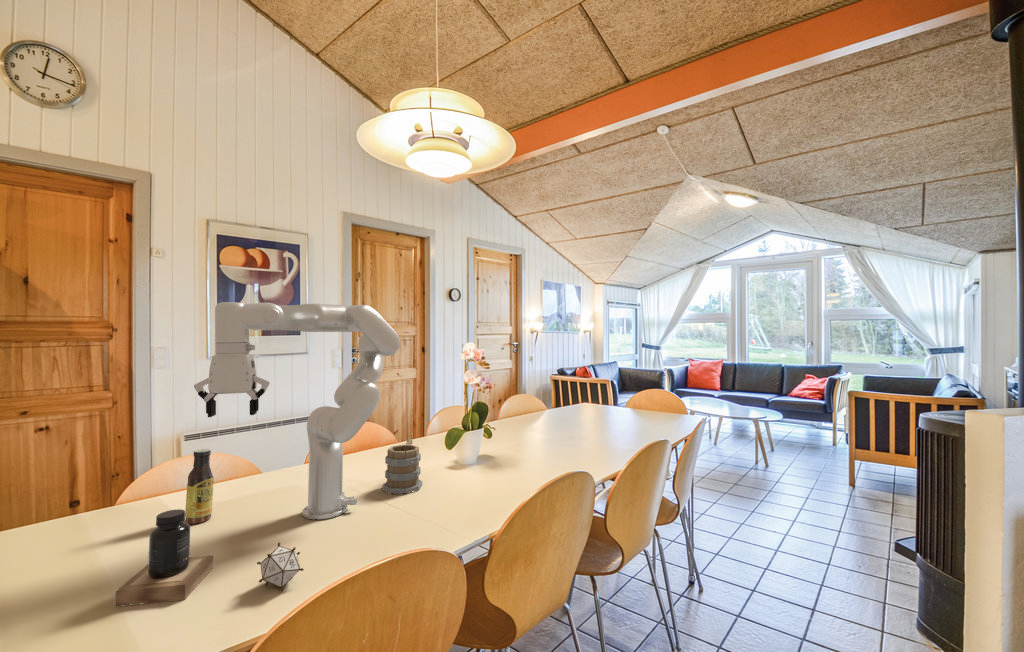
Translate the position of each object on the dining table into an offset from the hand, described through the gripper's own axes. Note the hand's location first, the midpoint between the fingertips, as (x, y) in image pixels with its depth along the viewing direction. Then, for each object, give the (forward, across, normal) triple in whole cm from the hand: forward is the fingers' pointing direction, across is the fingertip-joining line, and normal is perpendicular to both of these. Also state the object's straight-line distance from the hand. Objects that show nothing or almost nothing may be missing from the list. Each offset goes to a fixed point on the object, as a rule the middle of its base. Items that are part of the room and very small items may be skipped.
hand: (232, 415), depth 114 cm
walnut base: (+32, +5, +21) cm, 38 cm away
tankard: (+34, -43, -35) cm, 65 cm away
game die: (+33, -18, +25) cm, 45 cm away
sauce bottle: (+32, +14, -16) cm, 39 cm away
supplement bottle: (+29, +5, +21) cm, 36 cm away
